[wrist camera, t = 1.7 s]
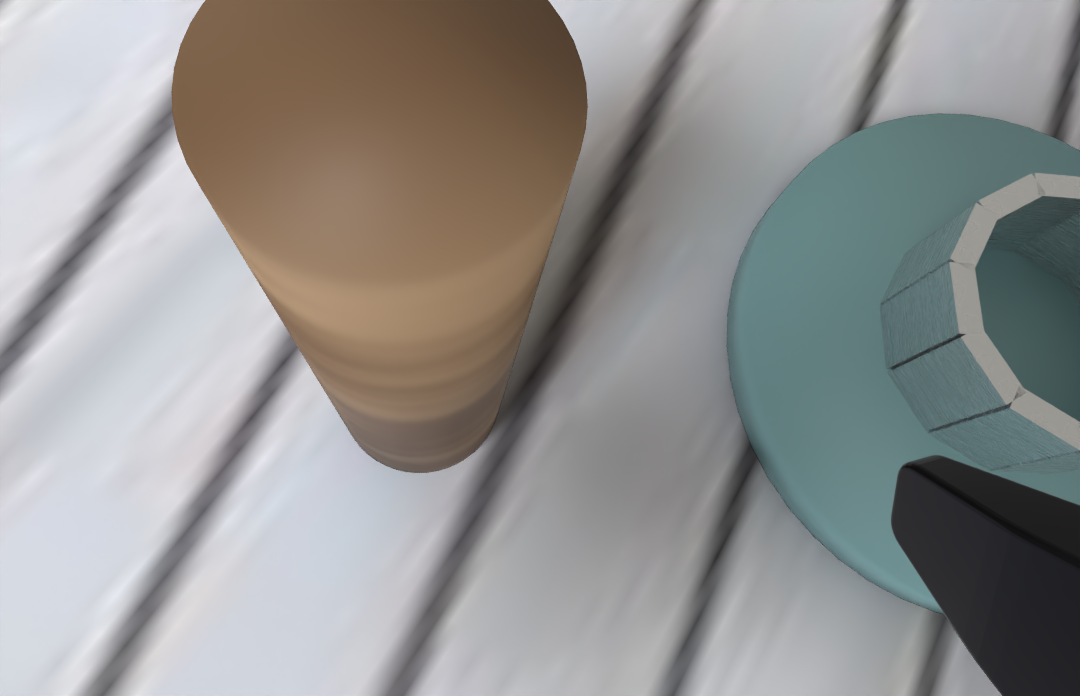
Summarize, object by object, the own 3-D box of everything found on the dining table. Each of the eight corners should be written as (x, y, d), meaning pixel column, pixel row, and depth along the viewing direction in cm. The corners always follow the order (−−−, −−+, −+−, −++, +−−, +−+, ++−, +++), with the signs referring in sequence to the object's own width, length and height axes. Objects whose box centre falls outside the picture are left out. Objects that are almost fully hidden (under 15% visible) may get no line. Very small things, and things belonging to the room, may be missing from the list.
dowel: (526, 427, 20) (660, 176, 8) (383, 501, 19) (275, 350, 7) (456, 295, 21) (475, -121, 9) (315, 360, 20) (107, -5, 8)
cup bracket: (1293, 466, 22) (1493, 438, 18) (920, 732, 19) (1057, 775, 15) (1002, 79, 25) (1116, -25, 21) (633, 252, 22) (679, 171, 18)
